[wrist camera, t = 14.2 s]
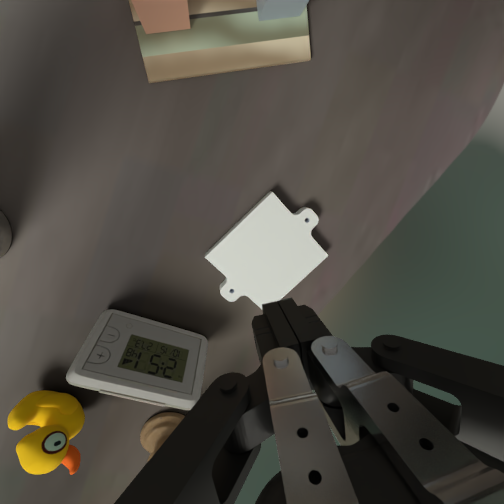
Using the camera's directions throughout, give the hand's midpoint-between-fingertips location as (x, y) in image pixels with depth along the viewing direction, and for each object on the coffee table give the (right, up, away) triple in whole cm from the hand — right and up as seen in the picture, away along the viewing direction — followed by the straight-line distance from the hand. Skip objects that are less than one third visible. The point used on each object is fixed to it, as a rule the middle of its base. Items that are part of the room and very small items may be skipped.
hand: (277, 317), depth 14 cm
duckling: (-30, -20, +30) cm, 47 cm away
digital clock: (-16, -9, +29) cm, 34 cm away
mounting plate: (+1, +3, +28) cm, 29 cm away
